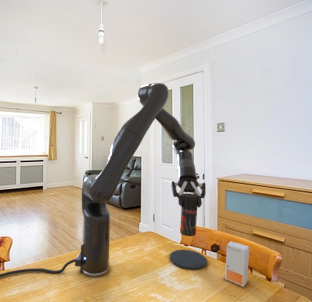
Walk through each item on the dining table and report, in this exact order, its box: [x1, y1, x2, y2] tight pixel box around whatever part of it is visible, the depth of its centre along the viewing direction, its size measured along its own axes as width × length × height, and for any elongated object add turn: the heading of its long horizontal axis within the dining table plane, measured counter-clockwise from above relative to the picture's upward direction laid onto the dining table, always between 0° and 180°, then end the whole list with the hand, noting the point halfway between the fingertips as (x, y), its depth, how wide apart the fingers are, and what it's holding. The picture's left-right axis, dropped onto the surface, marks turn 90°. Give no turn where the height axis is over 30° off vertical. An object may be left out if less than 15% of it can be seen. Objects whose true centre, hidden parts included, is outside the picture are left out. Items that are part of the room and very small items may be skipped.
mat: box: [169, 249, 208, 271], centre depth 88 cm, size 14×14×1 cm
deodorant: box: [179, 192, 198, 237], centre depth 87 cm, size 6×6×15 cm
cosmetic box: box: [224, 240, 250, 288], centre depth 75 cm, size 6×4×12 cm
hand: (190, 205), depth 85 cm, fingers closed on deodorant, 6 cm apart
